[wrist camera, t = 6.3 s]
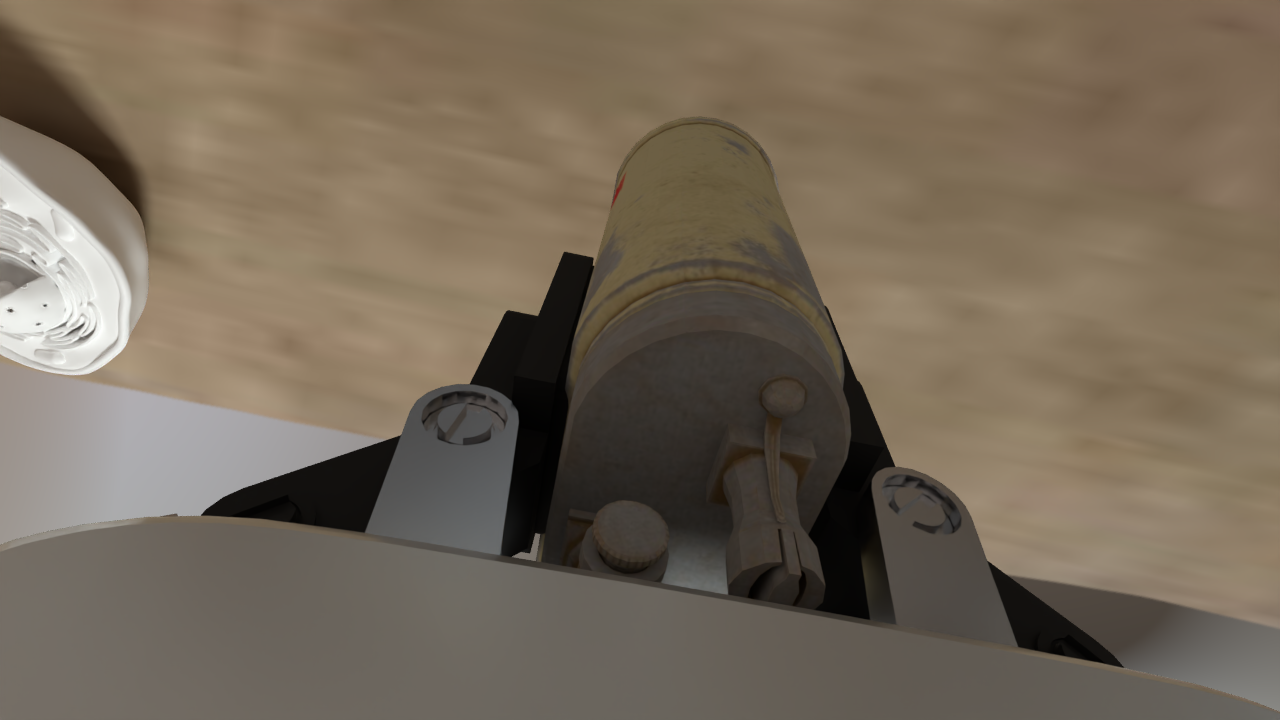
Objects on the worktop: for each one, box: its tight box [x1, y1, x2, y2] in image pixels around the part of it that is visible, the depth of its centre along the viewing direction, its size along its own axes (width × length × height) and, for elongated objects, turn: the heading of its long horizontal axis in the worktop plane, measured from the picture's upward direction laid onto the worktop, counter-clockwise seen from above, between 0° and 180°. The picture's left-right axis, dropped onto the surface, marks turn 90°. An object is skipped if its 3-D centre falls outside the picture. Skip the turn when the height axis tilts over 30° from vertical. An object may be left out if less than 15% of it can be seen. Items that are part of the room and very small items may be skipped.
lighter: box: [536, 117, 851, 610], centre depth 10 cm, size 7×4×10 cm, turn 168°
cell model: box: [0, 116, 149, 375], centre depth 26 cm, size 10×12×7 cm
